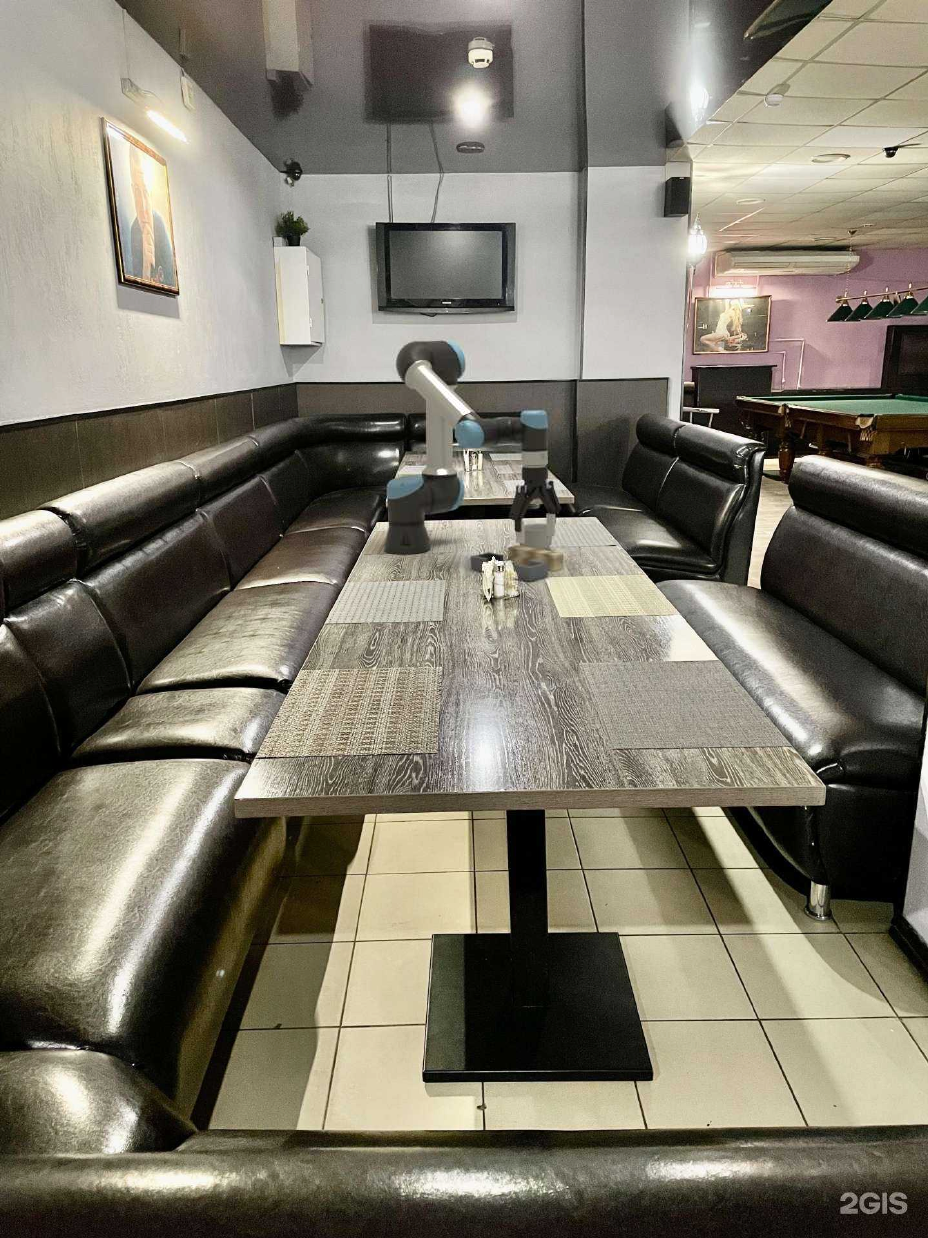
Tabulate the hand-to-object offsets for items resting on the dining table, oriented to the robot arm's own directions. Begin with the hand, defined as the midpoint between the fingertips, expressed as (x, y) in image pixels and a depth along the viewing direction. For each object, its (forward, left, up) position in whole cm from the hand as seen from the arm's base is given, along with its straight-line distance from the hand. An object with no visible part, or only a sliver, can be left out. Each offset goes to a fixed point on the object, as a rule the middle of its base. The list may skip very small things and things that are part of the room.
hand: (535, 539), depth 256 cm
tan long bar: (0, 0, -8) cm, 8 cm away
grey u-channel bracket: (-8, -12, -8) cm, 17 cm away
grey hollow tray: (+9, -12, -8) cm, 17 cm away
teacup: (-15, +17, -8) cm, 24 cm away
